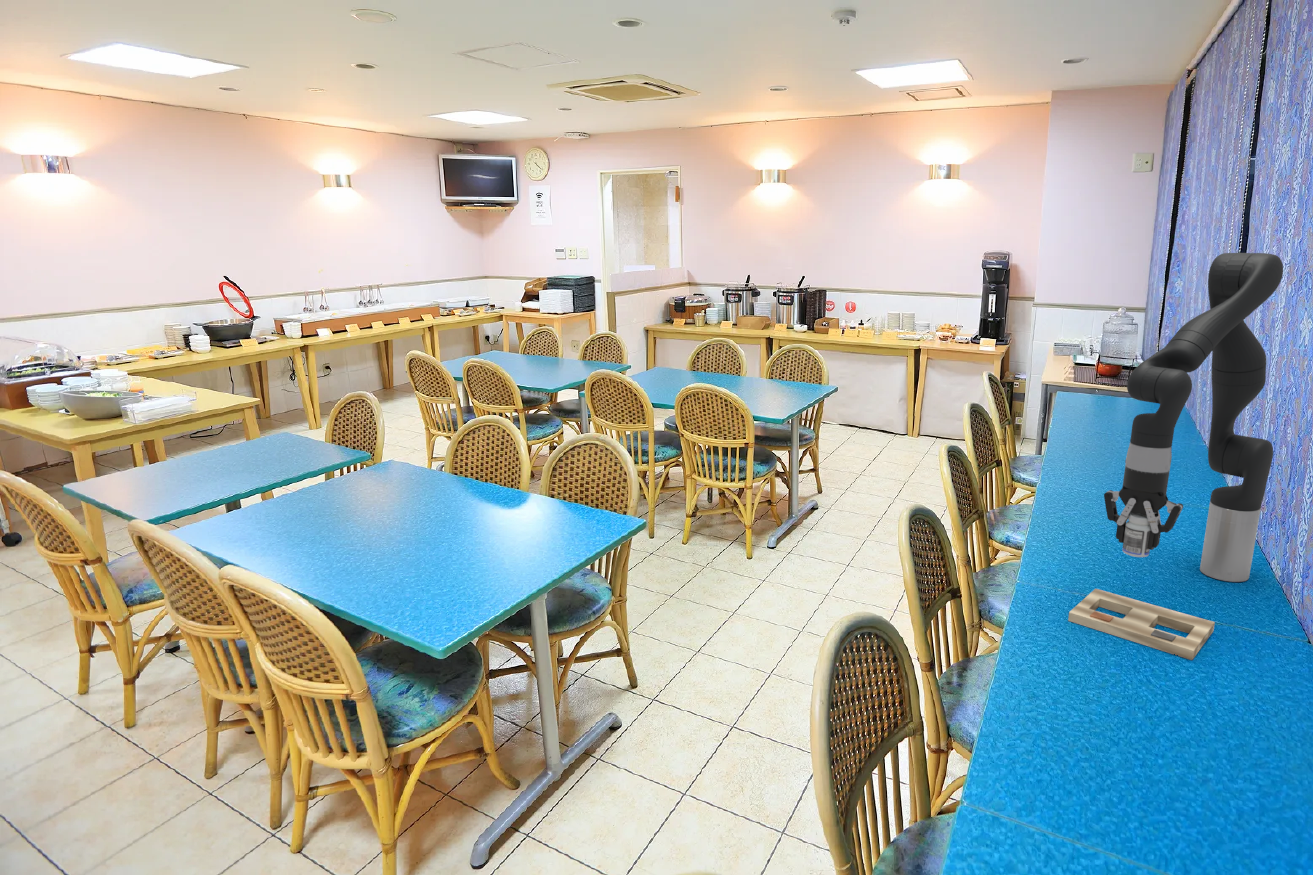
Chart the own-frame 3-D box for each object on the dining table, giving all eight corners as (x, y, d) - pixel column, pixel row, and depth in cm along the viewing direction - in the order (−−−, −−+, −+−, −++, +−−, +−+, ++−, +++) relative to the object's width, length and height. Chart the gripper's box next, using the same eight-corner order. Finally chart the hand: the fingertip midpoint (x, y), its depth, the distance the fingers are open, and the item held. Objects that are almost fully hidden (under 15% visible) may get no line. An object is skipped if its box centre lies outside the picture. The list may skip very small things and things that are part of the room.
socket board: (1094, 596, 166) (1095, 587, 166) (1213, 630, 150) (1215, 620, 150) (1068, 620, 157) (1069, 610, 156) (1192, 660, 141) (1193, 649, 140)
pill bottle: (1138, 548, 156) (1144, 510, 154) (1154, 557, 152) (1160, 518, 150) (1116, 549, 156) (1121, 511, 154) (1131, 558, 152) (1137, 519, 150)
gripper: (1195, 468, 147) (1182, 549, 151) (1114, 455, 157) (1104, 531, 161) (1184, 477, 142) (1171, 560, 146) (1101, 463, 152) (1091, 540, 156)
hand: (1136, 544), depth 154 cm, fingers closed on pill bottle, 4 cm apart
